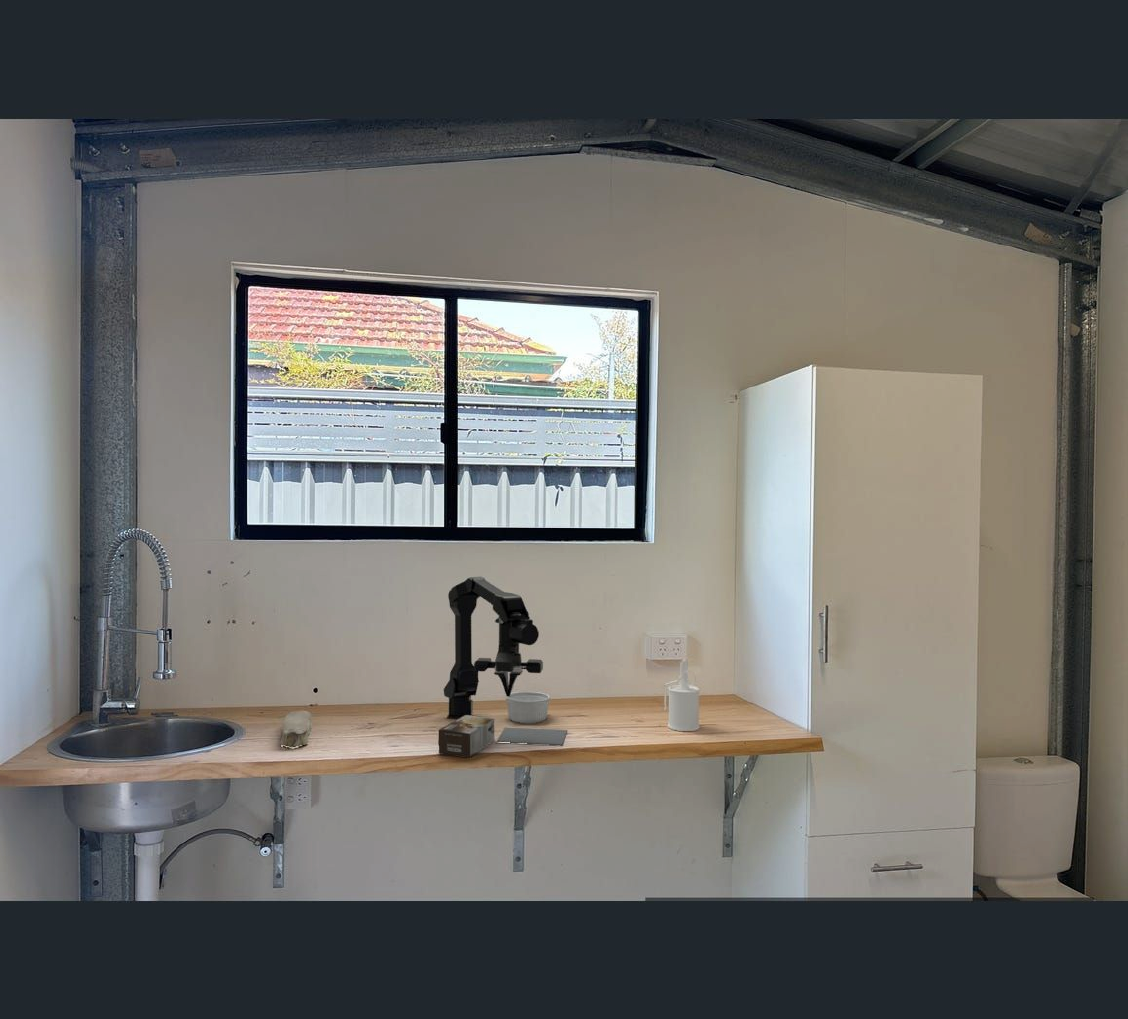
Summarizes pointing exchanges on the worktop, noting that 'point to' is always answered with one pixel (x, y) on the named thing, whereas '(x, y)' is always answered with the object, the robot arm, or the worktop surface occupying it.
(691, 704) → the oil can
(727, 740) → the worktop surface
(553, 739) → the mat
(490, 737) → the coffee box
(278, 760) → the worktop surface
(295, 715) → the shoe brush
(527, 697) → the ramekin
